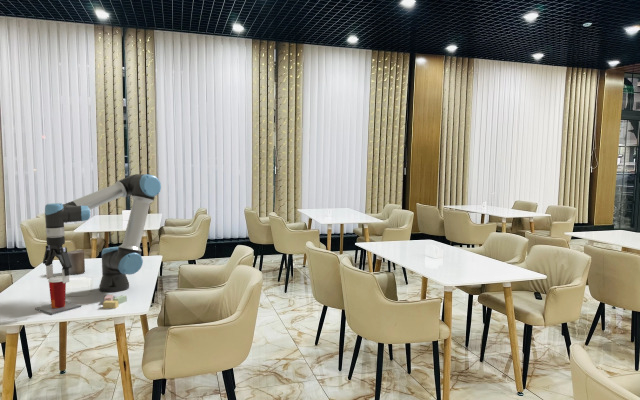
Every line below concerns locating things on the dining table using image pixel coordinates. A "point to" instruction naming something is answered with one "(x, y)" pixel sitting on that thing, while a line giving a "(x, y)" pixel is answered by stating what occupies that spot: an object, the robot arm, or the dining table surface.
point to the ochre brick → (110, 304)
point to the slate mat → (52, 311)
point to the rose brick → (108, 298)
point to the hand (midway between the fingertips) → (57, 280)
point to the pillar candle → (77, 262)
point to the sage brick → (120, 299)
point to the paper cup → (57, 291)
